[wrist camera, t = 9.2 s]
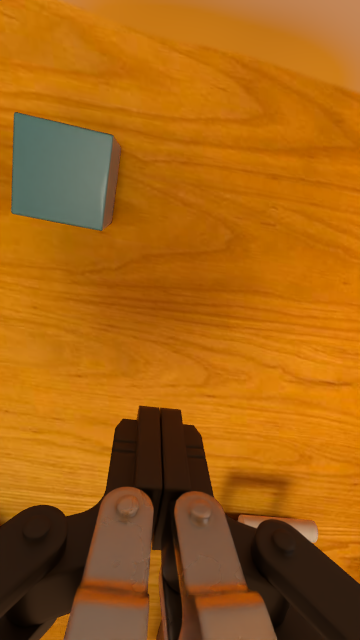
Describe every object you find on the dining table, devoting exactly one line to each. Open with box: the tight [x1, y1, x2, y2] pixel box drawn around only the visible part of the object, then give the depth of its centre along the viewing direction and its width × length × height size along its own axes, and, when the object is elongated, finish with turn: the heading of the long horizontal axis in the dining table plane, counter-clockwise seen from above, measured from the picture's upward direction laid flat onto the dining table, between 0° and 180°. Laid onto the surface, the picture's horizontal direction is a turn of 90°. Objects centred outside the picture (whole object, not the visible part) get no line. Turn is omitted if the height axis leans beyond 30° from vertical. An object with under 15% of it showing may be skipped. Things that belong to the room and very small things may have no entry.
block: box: [11, 112, 121, 231], centre depth 18 cm, size 4×4×4 cm
